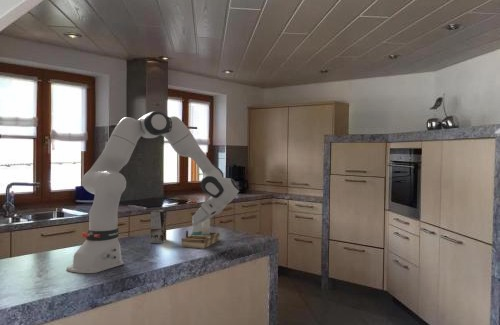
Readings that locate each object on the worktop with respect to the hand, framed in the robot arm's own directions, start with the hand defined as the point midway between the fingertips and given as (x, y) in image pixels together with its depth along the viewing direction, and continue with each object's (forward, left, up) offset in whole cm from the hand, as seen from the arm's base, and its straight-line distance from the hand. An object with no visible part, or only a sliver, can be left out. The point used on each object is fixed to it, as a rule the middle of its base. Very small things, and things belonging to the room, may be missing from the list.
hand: (195, 224), depth 199 cm
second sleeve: (+10, -1, -8) cm, 13 cm away
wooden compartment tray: (+5, -1, -10) cm, 12 cm away
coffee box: (+2, +22, -11) cm, 25 cm away
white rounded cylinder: (0, -1, -5) cm, 5 cm away
